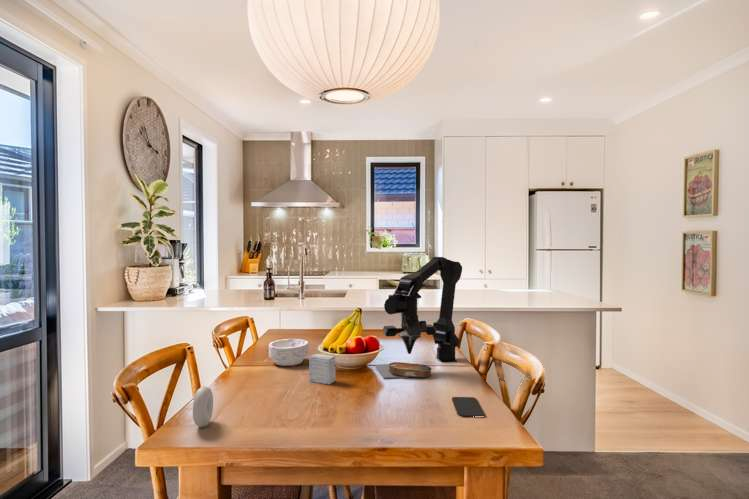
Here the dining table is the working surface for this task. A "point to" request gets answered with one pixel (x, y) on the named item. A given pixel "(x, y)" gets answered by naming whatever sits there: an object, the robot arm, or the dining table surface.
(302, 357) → the marble bowl
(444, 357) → the robot arm
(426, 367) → the tin
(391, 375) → the tin mat
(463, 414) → the phone
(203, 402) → the grey marbled disc
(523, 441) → the dining table surface
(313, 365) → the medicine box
